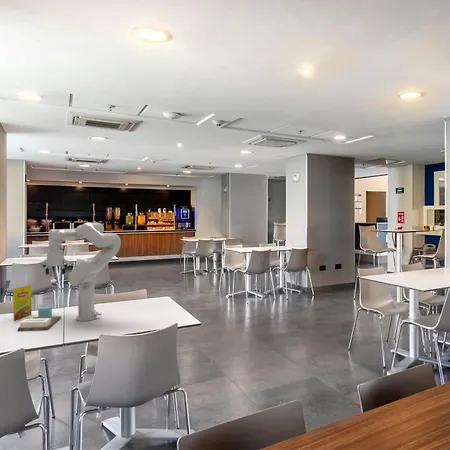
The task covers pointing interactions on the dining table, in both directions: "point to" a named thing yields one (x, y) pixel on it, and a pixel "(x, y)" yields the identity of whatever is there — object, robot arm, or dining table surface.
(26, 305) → the food package
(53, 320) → the board
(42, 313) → the teal cube
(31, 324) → the white tray
